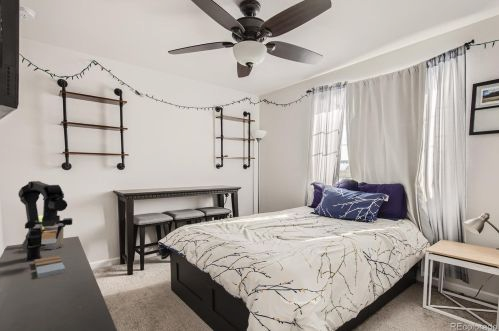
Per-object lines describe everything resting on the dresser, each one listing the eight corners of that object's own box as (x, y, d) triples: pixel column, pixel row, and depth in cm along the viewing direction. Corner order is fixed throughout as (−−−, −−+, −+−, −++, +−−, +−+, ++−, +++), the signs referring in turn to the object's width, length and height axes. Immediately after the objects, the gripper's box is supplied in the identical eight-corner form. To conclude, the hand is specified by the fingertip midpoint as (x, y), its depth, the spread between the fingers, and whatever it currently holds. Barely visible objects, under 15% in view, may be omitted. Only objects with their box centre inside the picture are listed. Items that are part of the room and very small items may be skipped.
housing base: (43, 240, 129) (43, 236, 129) (56, 239, 132) (56, 234, 132) (41, 244, 124) (41, 239, 124) (55, 242, 127) (55, 237, 127)
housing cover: (43, 236, 129) (43, 231, 129) (56, 234, 132) (57, 230, 132) (41, 239, 124) (41, 234, 124) (55, 237, 127) (55, 232, 127)
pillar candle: (59, 244, 162) (60, 221, 162) (65, 247, 156) (66, 223, 156) (40, 248, 154) (41, 223, 154) (46, 251, 148) (46, 226, 148)
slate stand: (36, 271, 120) (36, 267, 120) (62, 266, 127) (62, 262, 127) (37, 278, 113) (37, 273, 113) (65, 272, 119) (65, 268, 119)
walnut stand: (34, 263, 129) (34, 259, 129) (58, 259, 136) (58, 255, 136) (35, 269, 122) (35, 265, 122) (61, 264, 129) (61, 260, 129)
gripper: (23, 213, 116) (21, 246, 116) (72, 210, 127) (71, 241, 126) (27, 209, 126) (26, 240, 125) (73, 207, 136) (71, 236, 136)
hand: (49, 239), depth 128 cm, fingers closed on housing base, housing cover, 5 cm apart
